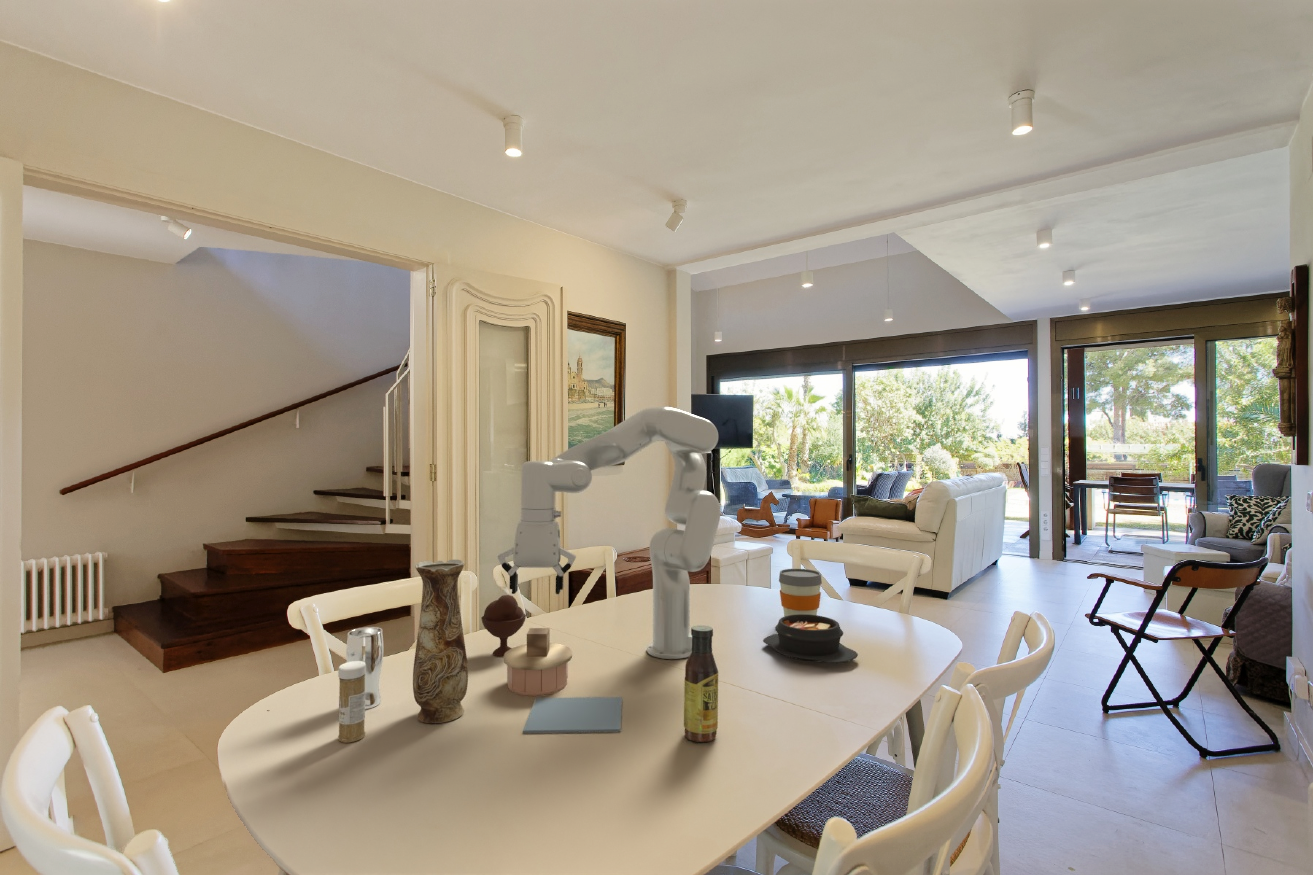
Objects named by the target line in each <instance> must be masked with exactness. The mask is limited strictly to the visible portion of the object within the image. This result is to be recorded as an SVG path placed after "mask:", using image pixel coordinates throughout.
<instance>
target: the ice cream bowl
mask: <svg viewBox="0 0 1313 875" xmlns="http://www.w3.org/2000/svg"><path fill="white" fill-rule="evenodd" d="M526 616H527V615H526V613H524V611H523V609H522V608H521V607H520V606H519V604H518V601H517V599H516V598H515V597H514V596H513V595H512V594H511V595H510V594H504V595H503V594H502V595H501V596H500V597H499V598H498V599H495V600H493V601H492V602H490V603H489V604H488V605H487V606H486V608H485V609H484V614H483V615H482V617H481V623H482V625H483V627H484V629H485V630H486V631H487V632H489V634H491V636H493V637H496V638H498V639H499V642H500V643H499V647H497V648H495V649H494V650H493V651H492V655H493V656H494V657H503V658H504V654H505V653H506V652H507V651H508V650H510V649H512V648H513V647H510V646H508V639H509V637H510V638H511V637H512V636H513V635H515V634H516V633H518V631H519V630H521V628H522V627H523V626H524V623H525V621H526Z"/></svg>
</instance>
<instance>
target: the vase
mask: <svg viewBox="0 0 1313 875" xmlns="http://www.w3.org/2000/svg"><path fill="white" fill-rule="evenodd" d="M465 565H466V561H463V560H461V559H448V560H447V561H446V562H445V561H443V560H438V561H436V562H433V561H432V560H425V561H421V562H418V563H417V564H416V565H414V569H415V570H416V572H417V573H418V574H419V576H420V578H421V580H422V591H421V592H422V593H421V605H420V613H419V620H418V623H419V624H418V628H417V629H418V631H417V636H416V637H417V638H416V646H415V654H414V660H413V667H412V668H413V669H412V692H413V698H414V701H415V702H416V704H417V705H418V706H419V707H420V710H419V713H418V715H417V717H416V718H417V720H418V721H419V722H422V723H426V724H441V723H445V722H451V721H454V720H457V719H458V718H460V717H461V716H463V715H464V714H465V708H464V707H463V706H462V704H461V703H462V701H463V699H464V698H465V696H466V695H467V690H468V684H469V672H468V671H469V668H468V666H469V665H468V659H467V656H468V655H467V649H466V643H465V642H466V641H465V636H464V629H463V623H462V615H461V614H462V613H461V607H460V598H459V597H460V596H459V587H458V583H459V582H458V581H459V578H460V575H461V573H462V571H463V569H464V567H465Z"/></svg>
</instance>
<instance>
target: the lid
mask: <svg viewBox="0 0 1313 875" xmlns="http://www.w3.org/2000/svg"><path fill="white" fill-rule="evenodd" d="M550 632H551V631H550V627H531V628H529V629H528V631H527V633H526V644H520V645H517V646H515V647H511V648H512V649H510V650H508V651H507V652H506V653H505V654H504V656H503V662H504V664H505V665H506V666H507V665H508V666H510V667H512V668H516V669H523V670H541V669H549V668H554V667H557V666H561V665H563V664H565V663H567V662H568V663H569V662H570V661H571V660H572V658H573V650H572V648H570V647H569V646H567V645H564V644H560V643H555V642H550Z"/></svg>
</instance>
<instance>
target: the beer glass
mask: <svg viewBox="0 0 1313 875" xmlns="http://www.w3.org/2000/svg"><path fill="white" fill-rule="evenodd" d="M345 652H346V663H347V662H352V661H362V662H364V663H365V664H366V673H365V711H366V710H370V709H373V708H375V707H377V706H379V705H380V704H381V702H382V698H381V697H382V696H381V692H380V679H381V673H382V666H383V661H384V660H383V659H384V637H383V628H381V627H378V626H365V627H358V628H355V629H352V630H350V631H348V632H347V641H346V651H345Z"/></svg>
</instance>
